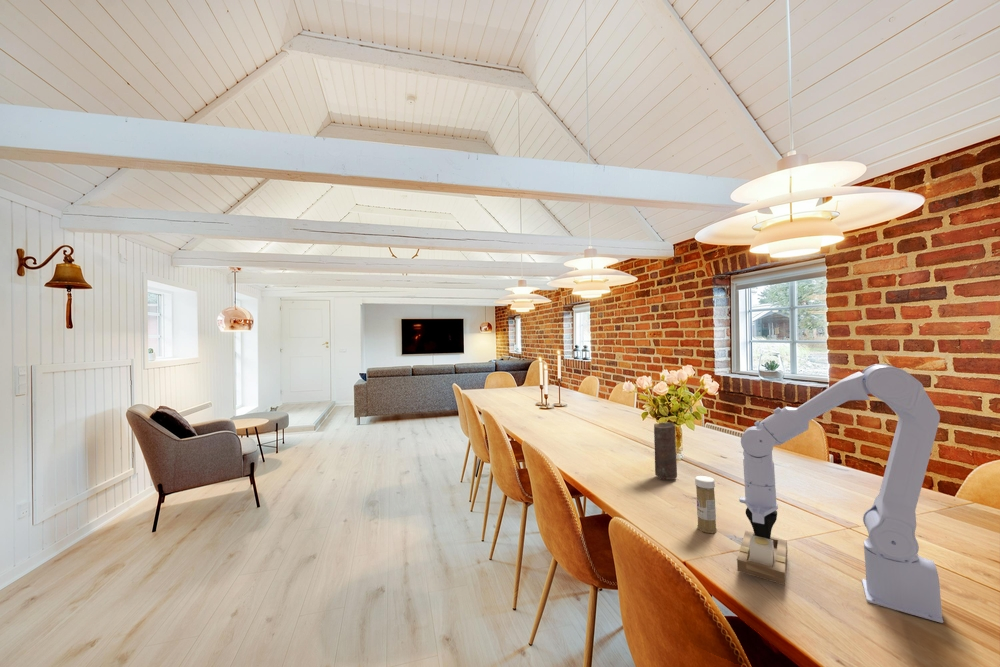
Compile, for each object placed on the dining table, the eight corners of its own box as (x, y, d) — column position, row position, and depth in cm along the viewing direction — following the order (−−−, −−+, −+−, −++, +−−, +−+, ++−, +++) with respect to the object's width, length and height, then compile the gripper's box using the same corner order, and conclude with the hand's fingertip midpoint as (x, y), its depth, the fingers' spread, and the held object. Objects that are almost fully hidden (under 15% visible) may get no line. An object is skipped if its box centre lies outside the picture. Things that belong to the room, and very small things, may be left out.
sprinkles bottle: (693, 526, 101) (691, 475, 102) (709, 524, 102) (707, 474, 102) (704, 534, 97) (701, 481, 97) (721, 533, 97) (718, 480, 98)
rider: (752, 553, 84) (751, 532, 84) (774, 558, 81) (773, 537, 81) (750, 563, 80) (749, 542, 80) (772, 570, 77) (771, 547, 77)
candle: (681, 482, 133) (678, 425, 134) (660, 482, 133) (657, 426, 134) (671, 474, 141) (669, 421, 141) (652, 475, 141) (649, 421, 141)
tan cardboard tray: (746, 545, 91) (745, 529, 91) (787, 556, 86) (786, 539, 86) (738, 576, 79) (737, 558, 79) (785, 591, 74) (784, 571, 74)
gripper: (742, 469, 92) (745, 526, 92) (734, 488, 81) (737, 552, 80) (778, 475, 88) (781, 534, 87) (774, 495, 76) (778, 563, 76)
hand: (763, 543), depth 83 cm, fingers closed
